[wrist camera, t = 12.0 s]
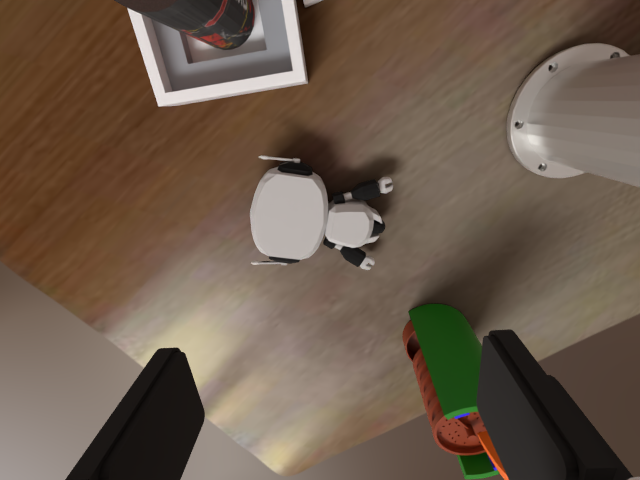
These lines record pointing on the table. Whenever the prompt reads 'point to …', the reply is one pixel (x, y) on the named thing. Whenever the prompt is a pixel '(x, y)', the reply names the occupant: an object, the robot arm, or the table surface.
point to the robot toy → (312, 215)
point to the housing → (223, 57)
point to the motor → (451, 385)
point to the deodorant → (202, 18)
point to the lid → (310, 2)
